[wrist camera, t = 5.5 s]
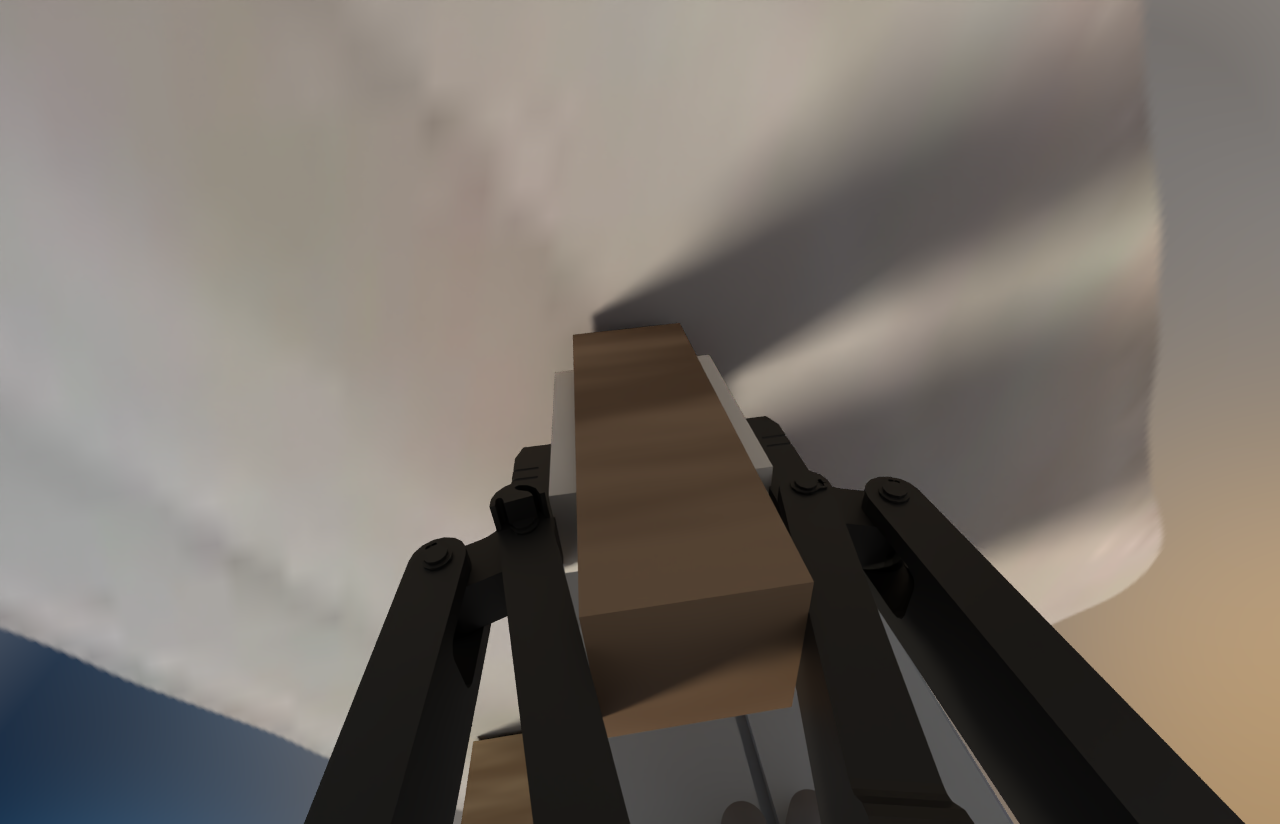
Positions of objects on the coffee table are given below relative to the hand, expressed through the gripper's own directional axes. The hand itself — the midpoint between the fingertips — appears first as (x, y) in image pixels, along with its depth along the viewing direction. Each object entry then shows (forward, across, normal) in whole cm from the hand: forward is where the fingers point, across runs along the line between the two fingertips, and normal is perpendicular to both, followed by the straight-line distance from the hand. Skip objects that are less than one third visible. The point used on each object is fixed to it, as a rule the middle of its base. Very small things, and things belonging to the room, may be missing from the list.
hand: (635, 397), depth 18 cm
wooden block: (+2, 0, -7) cm, 7 cm away
